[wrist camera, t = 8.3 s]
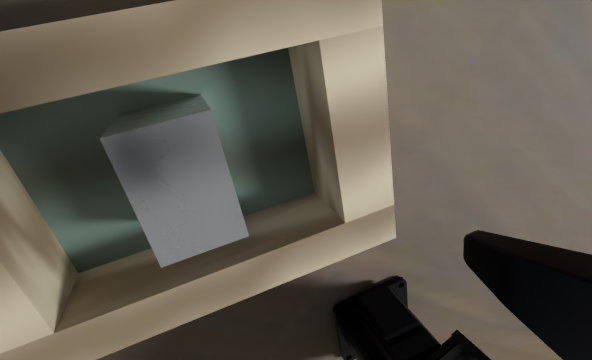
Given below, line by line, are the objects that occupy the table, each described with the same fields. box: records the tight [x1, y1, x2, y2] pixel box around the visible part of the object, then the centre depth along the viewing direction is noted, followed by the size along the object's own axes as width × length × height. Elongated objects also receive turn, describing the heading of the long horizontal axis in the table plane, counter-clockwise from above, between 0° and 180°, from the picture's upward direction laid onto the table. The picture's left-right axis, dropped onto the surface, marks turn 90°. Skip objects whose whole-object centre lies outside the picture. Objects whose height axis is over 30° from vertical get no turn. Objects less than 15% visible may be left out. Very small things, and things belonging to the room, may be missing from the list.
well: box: [0, 0, 396, 360], centre depth 15 cm, size 14×20×4 cm
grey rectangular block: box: [100, 94, 249, 268], centre depth 15 cm, size 6×4×4 cm, turn 11°
